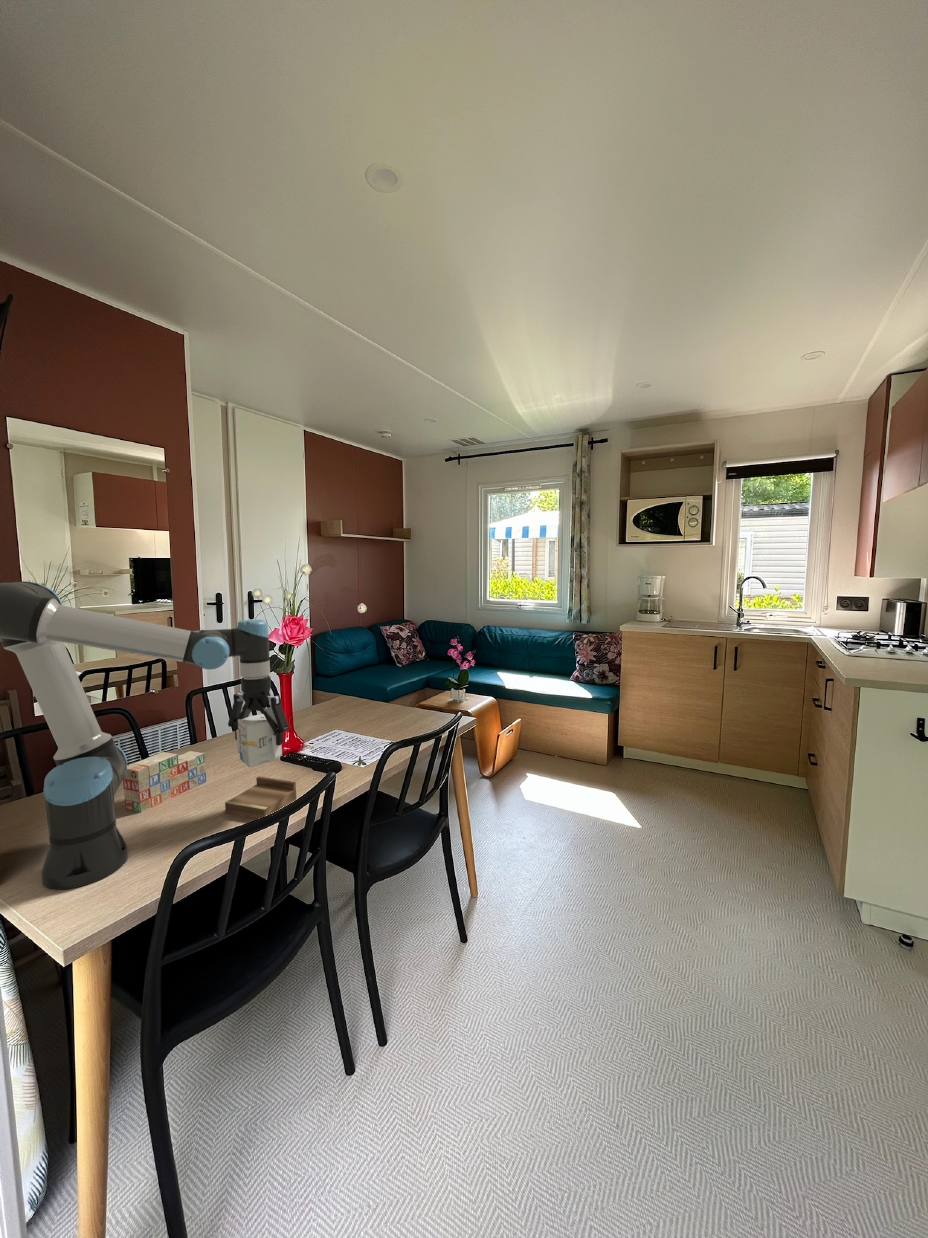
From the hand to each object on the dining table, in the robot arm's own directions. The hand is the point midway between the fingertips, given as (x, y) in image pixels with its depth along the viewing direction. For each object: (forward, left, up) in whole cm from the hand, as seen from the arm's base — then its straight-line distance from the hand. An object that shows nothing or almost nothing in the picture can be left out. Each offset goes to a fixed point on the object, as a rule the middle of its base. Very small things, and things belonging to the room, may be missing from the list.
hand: (259, 753), depth 135 cm
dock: (0, 0, -15) cm, 15 cm away
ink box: (0, 0, -2) cm, 2 cm away
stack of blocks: (-3, +32, -15) cm, 35 cm away
